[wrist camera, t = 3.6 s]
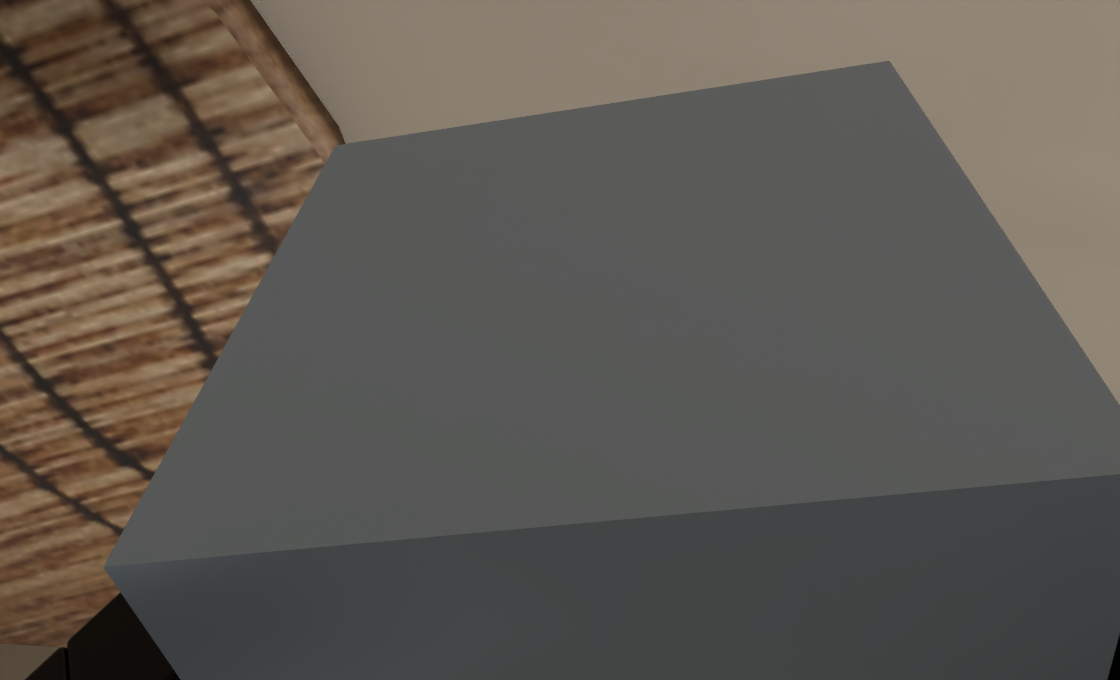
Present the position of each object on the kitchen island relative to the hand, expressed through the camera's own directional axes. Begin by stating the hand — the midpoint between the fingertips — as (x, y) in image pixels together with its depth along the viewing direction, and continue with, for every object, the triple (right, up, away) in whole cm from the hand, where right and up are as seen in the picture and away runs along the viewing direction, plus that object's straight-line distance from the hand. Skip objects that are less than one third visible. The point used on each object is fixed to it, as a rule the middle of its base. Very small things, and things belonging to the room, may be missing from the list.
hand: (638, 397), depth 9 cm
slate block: (0, +1, +1) cm, 1 cm away
